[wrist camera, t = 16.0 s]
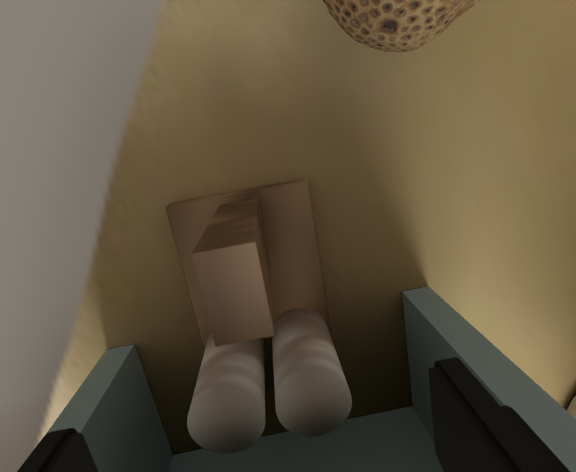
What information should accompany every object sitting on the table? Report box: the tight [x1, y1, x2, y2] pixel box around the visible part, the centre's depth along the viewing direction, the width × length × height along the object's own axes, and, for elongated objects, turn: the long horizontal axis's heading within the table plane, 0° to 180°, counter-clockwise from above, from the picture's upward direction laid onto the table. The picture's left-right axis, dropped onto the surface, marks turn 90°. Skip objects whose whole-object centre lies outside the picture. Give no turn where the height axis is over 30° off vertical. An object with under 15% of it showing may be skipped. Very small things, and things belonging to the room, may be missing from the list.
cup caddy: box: [166, 179, 352, 453], centre depth 20 cm, size 9×14×11 cm, turn 9°
